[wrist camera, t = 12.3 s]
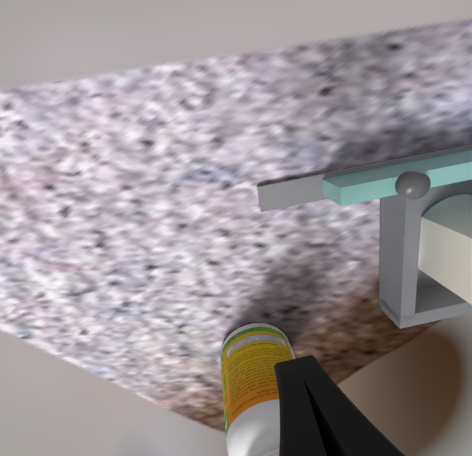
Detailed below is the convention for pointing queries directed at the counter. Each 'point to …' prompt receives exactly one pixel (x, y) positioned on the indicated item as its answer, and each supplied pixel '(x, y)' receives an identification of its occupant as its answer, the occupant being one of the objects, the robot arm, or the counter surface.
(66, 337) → the counter surface
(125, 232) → the counter surface
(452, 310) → the housing
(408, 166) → the teal long flat bar
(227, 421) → the supplement bottle
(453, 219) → the cream block with knob
